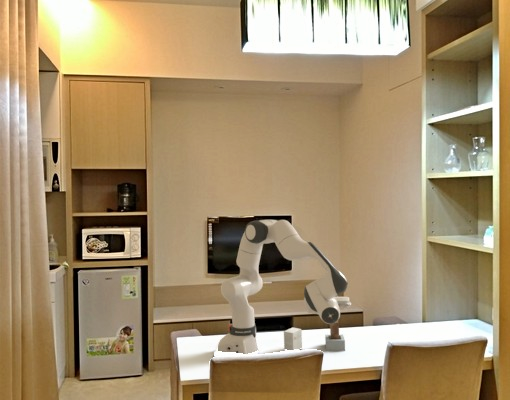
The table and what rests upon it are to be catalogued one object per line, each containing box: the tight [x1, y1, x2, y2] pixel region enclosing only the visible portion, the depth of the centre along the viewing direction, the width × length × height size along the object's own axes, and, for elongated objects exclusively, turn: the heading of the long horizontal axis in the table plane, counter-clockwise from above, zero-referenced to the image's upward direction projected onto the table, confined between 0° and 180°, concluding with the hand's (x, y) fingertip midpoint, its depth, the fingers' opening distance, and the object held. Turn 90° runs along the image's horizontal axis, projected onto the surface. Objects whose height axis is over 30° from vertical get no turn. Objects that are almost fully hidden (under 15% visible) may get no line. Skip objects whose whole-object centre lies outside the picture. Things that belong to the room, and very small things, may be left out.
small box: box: [283, 326, 303, 350], centre depth 230 cm, size 8×6×10 cm
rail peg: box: [329, 320, 340, 340], centre depth 233 cm, size 4×4×12 cm
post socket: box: [324, 334, 346, 351], centre depth 233 cm, size 9×9×5 cm
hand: (325, 298), depth 213 cm, fingers open, 8 cm apart
